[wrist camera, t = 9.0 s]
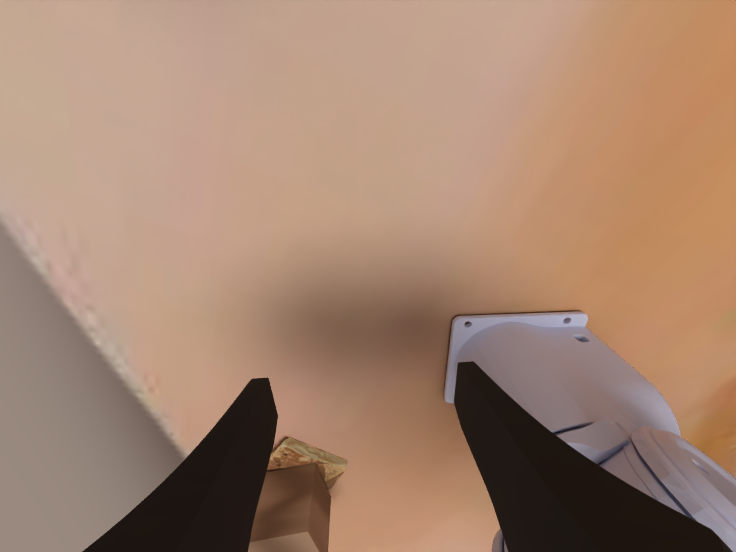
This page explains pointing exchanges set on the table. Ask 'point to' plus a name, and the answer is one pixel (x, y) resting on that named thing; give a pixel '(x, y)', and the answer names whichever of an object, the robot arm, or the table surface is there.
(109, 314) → the table surface
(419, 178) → the table surface
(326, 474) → the shard
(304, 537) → the walnut cube
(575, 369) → the robot arm
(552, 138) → the table surface
